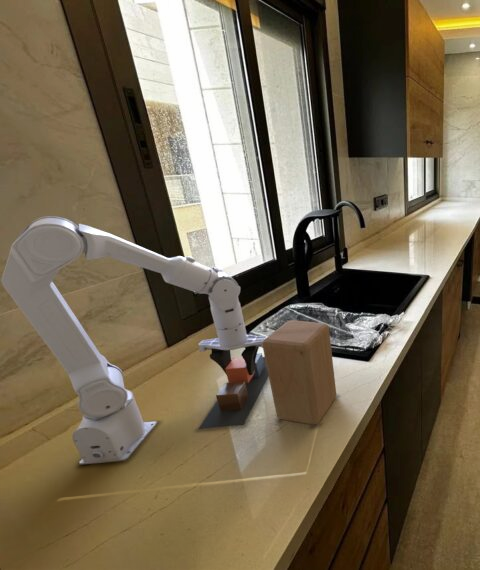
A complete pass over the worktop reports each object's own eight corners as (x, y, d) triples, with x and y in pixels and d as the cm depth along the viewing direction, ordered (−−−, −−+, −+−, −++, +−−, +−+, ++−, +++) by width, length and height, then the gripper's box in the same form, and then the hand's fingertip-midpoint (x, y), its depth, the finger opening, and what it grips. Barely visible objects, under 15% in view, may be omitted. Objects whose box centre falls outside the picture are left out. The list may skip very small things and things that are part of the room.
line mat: (243, 425, 69) (243, 424, 69) (198, 429, 68) (198, 428, 68) (279, 357, 93) (278, 356, 93) (245, 359, 92) (245, 358, 92)
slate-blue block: (259, 377, 84) (256, 362, 83) (241, 378, 84) (237, 363, 82) (264, 367, 88) (261, 353, 87) (247, 368, 88) (244, 354, 86)
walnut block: (241, 409, 73) (237, 393, 72) (220, 411, 73) (215, 395, 71) (248, 396, 78) (244, 381, 76) (228, 397, 77) (224, 382, 75)
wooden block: (317, 427, 69) (305, 346, 62) (275, 420, 71) (259, 340, 64) (338, 396, 78) (330, 322, 71) (300, 390, 80) (288, 317, 73)
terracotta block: (248, 383, 78) (245, 367, 76) (229, 384, 77) (225, 368, 76) (255, 371, 82) (251, 357, 80) (236, 373, 82) (233, 358, 80)
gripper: (268, 314, 79) (277, 361, 84) (204, 317, 77) (217, 365, 82) (258, 328, 72) (268, 378, 77) (188, 332, 71) (203, 383, 76)
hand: (241, 373), depth 79 cm, fingers closed on terracotta block, 4 cm apart
